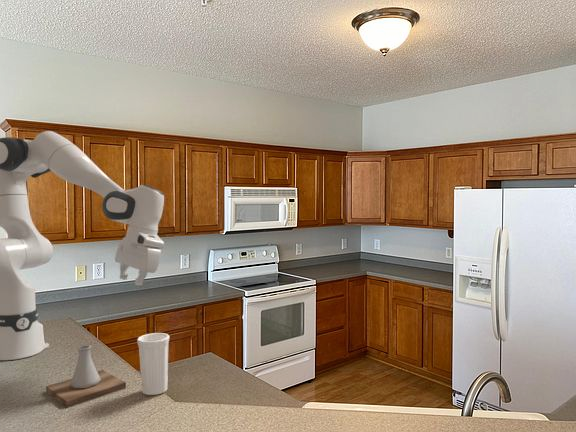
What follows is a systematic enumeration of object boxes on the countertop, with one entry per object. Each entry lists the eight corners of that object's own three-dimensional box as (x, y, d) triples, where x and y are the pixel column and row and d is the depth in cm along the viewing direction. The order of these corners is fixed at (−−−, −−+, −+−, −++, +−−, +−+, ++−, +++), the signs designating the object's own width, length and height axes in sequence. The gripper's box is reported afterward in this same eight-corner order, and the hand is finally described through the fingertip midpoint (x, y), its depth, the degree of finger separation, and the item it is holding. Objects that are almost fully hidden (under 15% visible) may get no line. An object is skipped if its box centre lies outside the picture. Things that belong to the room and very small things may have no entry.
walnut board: (46, 391, 117) (46, 386, 117) (102, 374, 128) (102, 369, 128) (67, 407, 107) (67, 401, 107) (125, 387, 118) (125, 382, 118)
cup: (138, 388, 118) (136, 335, 118) (169, 383, 121) (167, 331, 121) (139, 400, 111) (137, 343, 110) (172, 394, 114) (171, 339, 113)
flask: (86, 391, 113) (84, 352, 113) (64, 387, 116) (62, 349, 115) (106, 380, 120) (105, 343, 120) (85, 377, 122) (83, 341, 122)
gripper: (115, 232, 141) (105, 274, 140) (148, 240, 127) (137, 287, 126) (133, 235, 146) (123, 277, 144) (167, 243, 132) (156, 289, 131)
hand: (130, 282), depth 135 cm, fingers open, 8 cm apart
